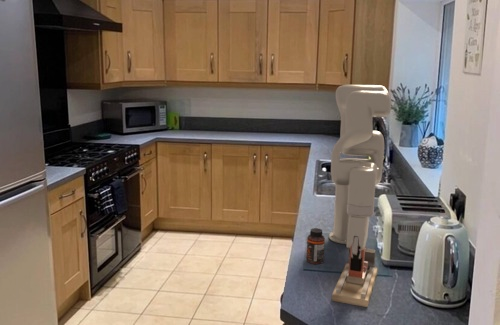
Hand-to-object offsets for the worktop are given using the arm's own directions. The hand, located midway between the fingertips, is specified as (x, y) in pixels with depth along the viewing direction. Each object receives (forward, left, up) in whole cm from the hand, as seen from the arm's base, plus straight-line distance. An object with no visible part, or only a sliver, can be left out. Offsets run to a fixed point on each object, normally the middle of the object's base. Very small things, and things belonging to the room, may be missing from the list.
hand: (356, 267), depth 147 cm
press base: (-2, 0, -7) cm, 7 cm away
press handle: (-3, 0, -4) cm, 5 cm away
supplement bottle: (-16, -16, -7) cm, 23 cm away
